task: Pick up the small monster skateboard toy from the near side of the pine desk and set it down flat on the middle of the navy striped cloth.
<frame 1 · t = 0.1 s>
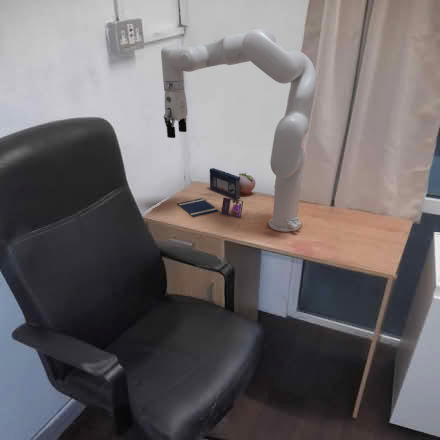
hand: (177, 134, 162), 31 cm above the table, tool pointing down, fingers open, 9 cm apart
vhs cassette tape: (224, 194, 195), on the table
monster skateboard toy: (233, 214, 175), on the table
decorative fruit: (244, 194, 194), on the table
cloth: (197, 207, 181), on the table
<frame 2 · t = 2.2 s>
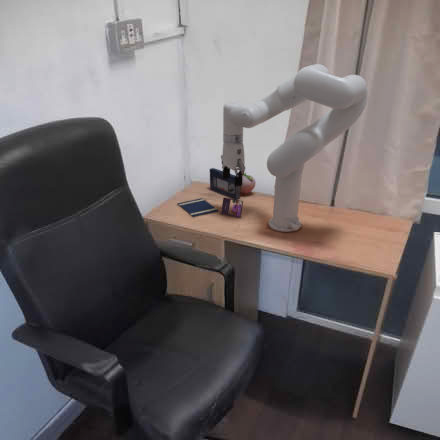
hand: (232, 181, 168), 14 cm above the table, tool pointing down, fingers open, 9 cm apart
nothing on the table moved.
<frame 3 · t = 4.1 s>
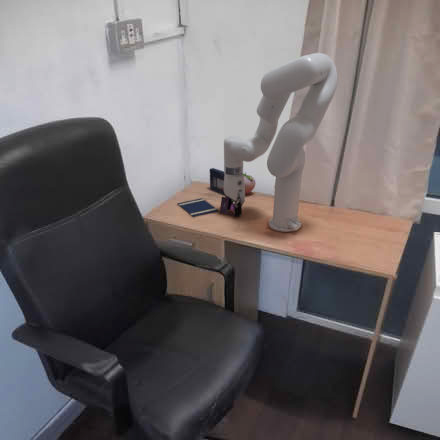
hand: (233, 212, 175), 1 cm above the table, tool pointing down, fingers closed on monster skateboard toy, 6 cm apart
monster skateboard toy: (231, 213, 176), on the table, touching gripper
everything else where it was.
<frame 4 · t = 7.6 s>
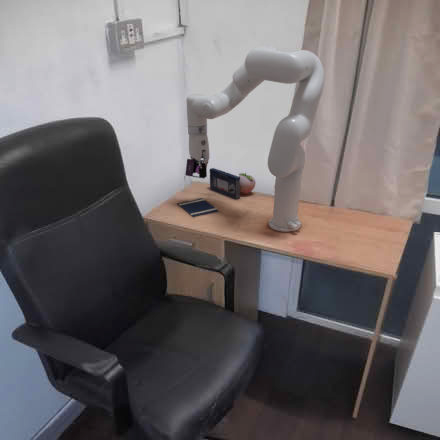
hand: (199, 174, 173), 15 cm above the table, tool pointing down, fingers closed on monster skateboard toy, 6 cm apart
monster skateboard toy: (197, 176, 174), point 14 cm above the table, touching gripper
everything else where it was.
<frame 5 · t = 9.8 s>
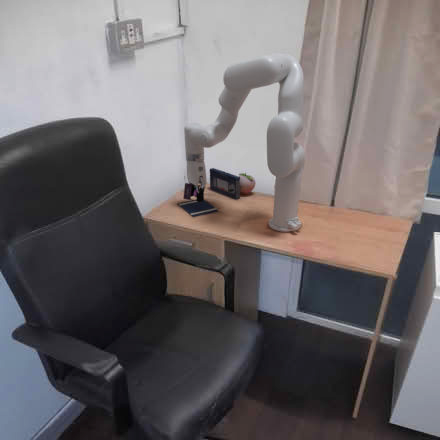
hand: (196, 198, 179), 4 cm above the table, tool pointing down, fingers closed on monster skateboard toy, 6 cm apart
monster skateboard toy: (195, 199, 181), point 3 cm above the table, touching gripper
everything else where it was.
when the fingers open (1 cm above the table, at t = 11.1 s): monster skateboard toy stays where it is, resting on cloth.
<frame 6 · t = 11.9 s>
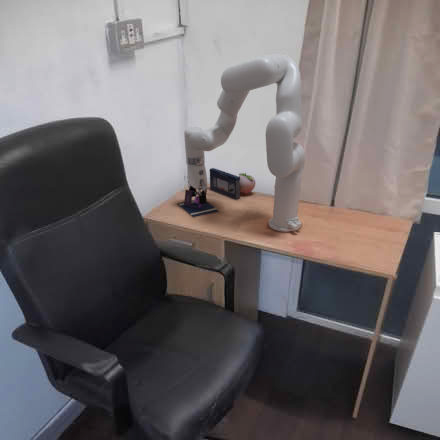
hand: (197, 200, 180), 3 cm above the table, tool pointing down, fingers open, 9 cm apart
monster skateboard toy: (195, 205, 183), resting on cloth
everything else where it was.
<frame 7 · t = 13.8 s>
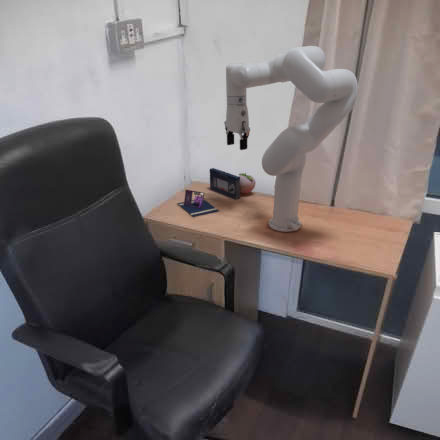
hand: (237, 147, 167), 25 cm above the table, tool pointing down, fingers open, 9 cm apart
nothing on the table moved.
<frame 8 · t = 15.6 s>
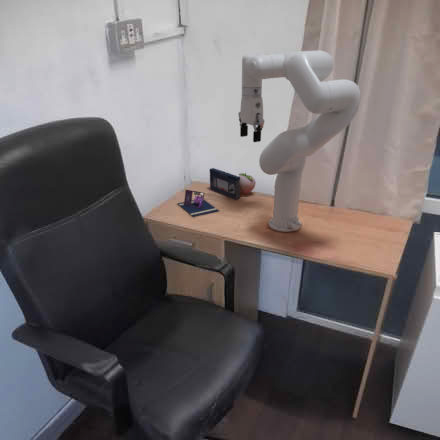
hand: (250, 138, 166), 28 cm above the table, tool pointing down, fingers open, 9 cm apart
nothing on the table moved.
at the end: monster skateboard toy inside the target area on the cloth (1.9 cm from its centre), point 0.2 cm above the cloth's base; monster skateboard toy tilted 0°; the gripper is holding nothing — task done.
